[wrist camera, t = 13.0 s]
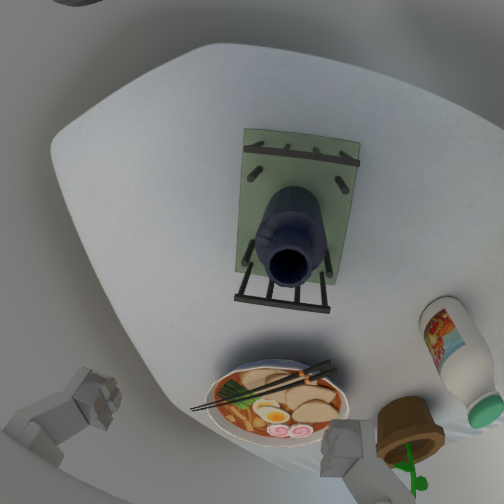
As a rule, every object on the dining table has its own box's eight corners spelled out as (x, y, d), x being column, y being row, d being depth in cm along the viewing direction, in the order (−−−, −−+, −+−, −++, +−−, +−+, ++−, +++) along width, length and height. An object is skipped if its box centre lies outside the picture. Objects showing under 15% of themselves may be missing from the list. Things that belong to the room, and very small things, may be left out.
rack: (246, 128, 33) (227, 130, 24) (358, 142, 31) (378, 150, 23) (237, 267, 40) (219, 308, 32) (334, 280, 39) (340, 324, 31)
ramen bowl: (255, 427, 56) (249, 459, 48) (184, 359, 50) (168, 393, 42) (370, 394, 47) (375, 429, 40) (315, 305, 41) (317, 344, 34)
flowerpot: (354, 425, 52) (357, 557, 25) (395, 383, 45) (420, 538, 18) (405, 432, 52) (419, 548, 25) (447, 394, 45) (480, 522, 18)
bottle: (269, 183, 34) (250, 222, 21) (323, 190, 33) (337, 233, 21) (264, 233, 37) (244, 296, 24) (316, 240, 36) (322, 306, 23)
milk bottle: (453, 285, 36) (515, 383, 18) (466, 318, 38) (517, 411, 20) (411, 313, 39) (453, 423, 21) (427, 343, 41) (464, 444, 23)
